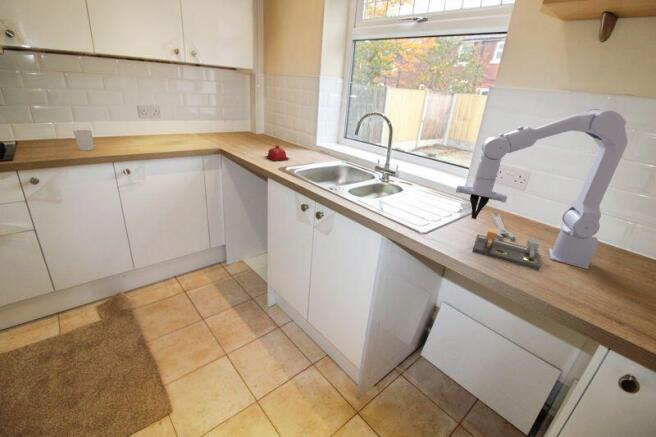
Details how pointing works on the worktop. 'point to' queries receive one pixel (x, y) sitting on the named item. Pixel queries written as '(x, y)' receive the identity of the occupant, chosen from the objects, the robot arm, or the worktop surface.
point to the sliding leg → (491, 236)
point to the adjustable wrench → (501, 228)
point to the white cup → (84, 139)
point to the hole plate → (510, 251)
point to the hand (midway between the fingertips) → (473, 217)
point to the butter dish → (277, 154)
